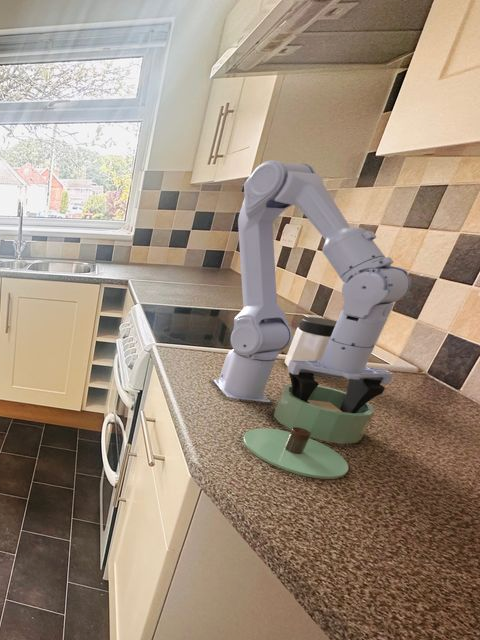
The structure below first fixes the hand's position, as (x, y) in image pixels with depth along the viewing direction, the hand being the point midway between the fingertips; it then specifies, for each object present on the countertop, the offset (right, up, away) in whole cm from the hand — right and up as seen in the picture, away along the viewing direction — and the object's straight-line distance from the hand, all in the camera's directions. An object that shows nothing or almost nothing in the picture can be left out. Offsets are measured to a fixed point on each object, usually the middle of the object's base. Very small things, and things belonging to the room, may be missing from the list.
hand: (319, 414), depth 75 cm
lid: (-11, -6, -8) cm, 15 cm away
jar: (+21, +9, +29) cm, 37 cm away
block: (0, -2, +1) cm, 2 cm away
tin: (0, -2, +1) cm, 3 cm away
